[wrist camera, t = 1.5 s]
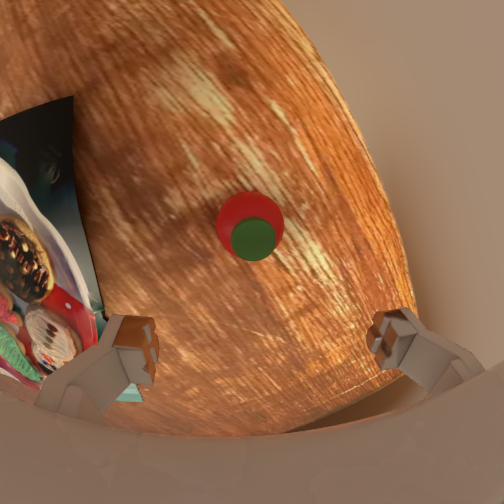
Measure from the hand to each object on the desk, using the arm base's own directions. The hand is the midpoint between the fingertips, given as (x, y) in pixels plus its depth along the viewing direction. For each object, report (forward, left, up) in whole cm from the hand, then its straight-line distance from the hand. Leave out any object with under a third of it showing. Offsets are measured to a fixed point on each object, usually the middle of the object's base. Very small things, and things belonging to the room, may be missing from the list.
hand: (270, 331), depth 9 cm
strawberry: (0, 0, -12) cm, 12 cm away
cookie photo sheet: (+30, -8, -12) cm, 33 cm away
